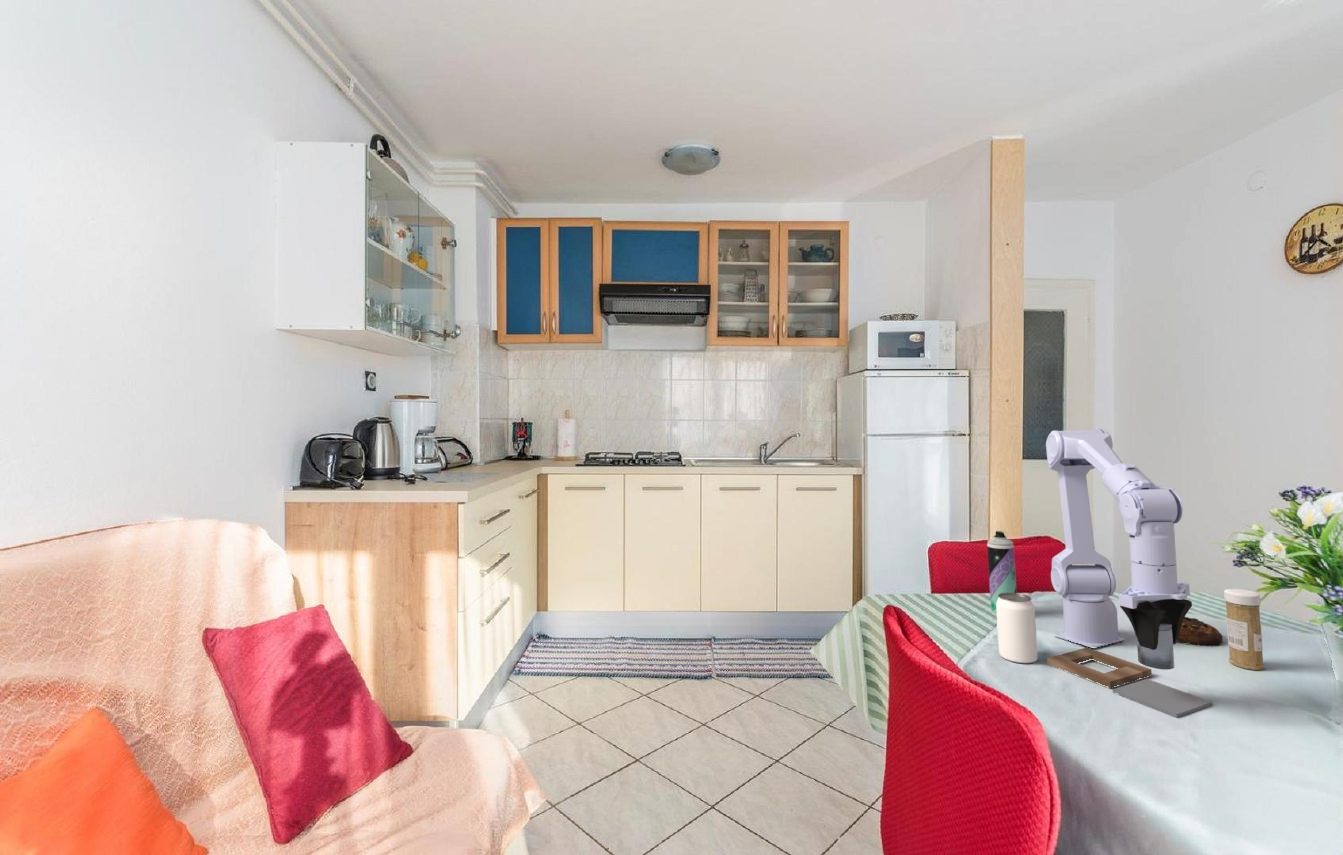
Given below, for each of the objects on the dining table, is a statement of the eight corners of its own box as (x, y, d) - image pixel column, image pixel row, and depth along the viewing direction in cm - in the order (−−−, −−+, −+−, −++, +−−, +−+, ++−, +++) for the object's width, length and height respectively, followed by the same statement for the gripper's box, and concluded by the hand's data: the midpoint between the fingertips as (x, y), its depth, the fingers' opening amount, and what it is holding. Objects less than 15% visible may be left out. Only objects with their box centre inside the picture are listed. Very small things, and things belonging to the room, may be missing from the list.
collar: (1087, 653, 108) (1086, 647, 108) (1151, 675, 98) (1151, 669, 98) (1047, 664, 105) (1047, 657, 105) (1110, 688, 94) (1109, 681, 94)
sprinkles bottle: (1271, 671, 97) (1267, 595, 97) (1240, 670, 98) (1236, 595, 98) (1251, 660, 102) (1246, 588, 102) (1221, 659, 103) (1217, 587, 103)
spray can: (987, 611, 134) (982, 529, 135) (1011, 611, 134) (1006, 529, 134) (997, 618, 129) (992, 533, 129) (1022, 618, 128) (1017, 533, 128)
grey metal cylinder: (1150, 655, 93) (1147, 614, 94) (1181, 666, 89) (1178, 623, 89) (1131, 660, 92) (1128, 618, 92) (1162, 671, 88) (1159, 627, 88)
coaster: (1147, 681, 96) (1147, 678, 96) (1212, 704, 87) (1212, 701, 87) (1112, 692, 93) (1112, 689, 93) (1176, 717, 84) (1176, 714, 84)
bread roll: (1208, 651, 106) (1202, 624, 107) (1141, 640, 116) (1136, 616, 117) (1237, 641, 111) (1231, 615, 112) (1170, 632, 121) (1165, 608, 122)
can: (1043, 665, 104) (1040, 601, 104) (1006, 663, 106) (1002, 601, 106) (1029, 651, 111) (1025, 591, 111) (993, 650, 112) (990, 591, 112)
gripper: (1152, 573, 84) (1157, 662, 84) (1210, 561, 89) (1215, 644, 89) (1103, 563, 91) (1108, 646, 91) (1159, 552, 96) (1164, 630, 96)
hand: (1157, 644), depth 90 cm, fingers closed on grey metal cylinder, 4 cm apart
